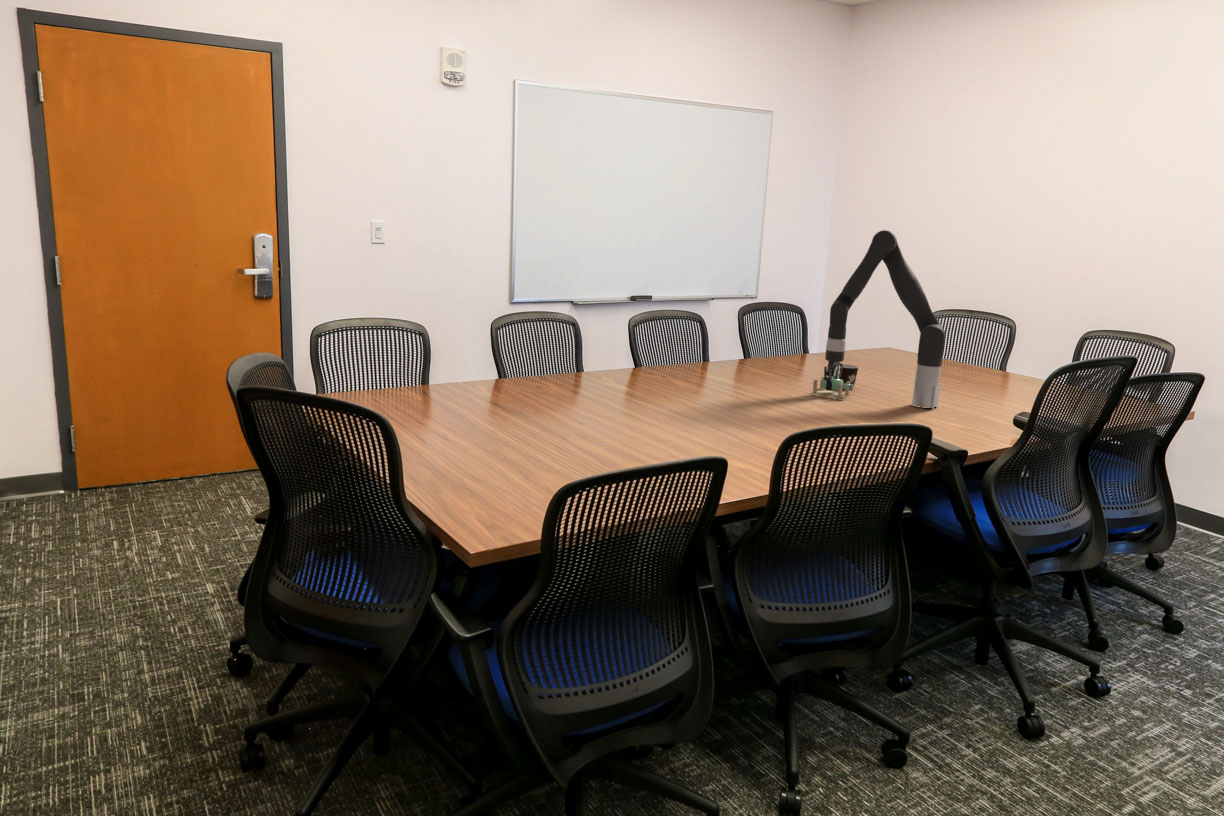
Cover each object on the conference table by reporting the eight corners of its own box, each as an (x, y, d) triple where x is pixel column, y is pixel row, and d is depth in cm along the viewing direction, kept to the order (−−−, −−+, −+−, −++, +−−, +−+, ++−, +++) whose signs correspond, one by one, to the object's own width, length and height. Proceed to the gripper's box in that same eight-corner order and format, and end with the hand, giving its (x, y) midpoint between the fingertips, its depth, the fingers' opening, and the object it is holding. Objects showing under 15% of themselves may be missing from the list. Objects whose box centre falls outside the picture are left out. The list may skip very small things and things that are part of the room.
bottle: (854, 392, 361) (855, 380, 360) (849, 395, 357) (850, 383, 356) (824, 387, 369) (825, 375, 367) (819, 390, 365) (820, 378, 363)
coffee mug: (854, 387, 384) (856, 365, 382) (857, 391, 376) (860, 368, 374) (827, 385, 385) (829, 363, 383) (830, 389, 377) (832, 367, 375)
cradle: (849, 396, 365) (851, 381, 363) (840, 400, 357) (842, 384, 356) (820, 391, 372) (822, 376, 371) (811, 395, 365) (812, 379, 363)
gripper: (837, 352, 352) (832, 393, 356) (850, 348, 364) (846, 388, 368) (819, 350, 357) (815, 390, 361) (833, 346, 368) (829, 385, 372)
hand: (831, 389), depth 364 cm, fingers closed on bottle, 5 cm apart
